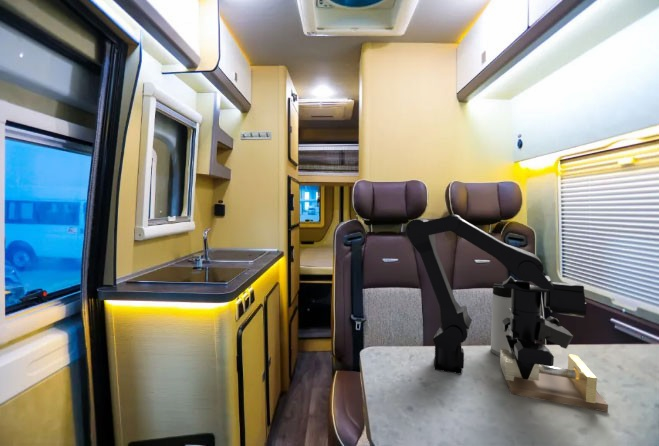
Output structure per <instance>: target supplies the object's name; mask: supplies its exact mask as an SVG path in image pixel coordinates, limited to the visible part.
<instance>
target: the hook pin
mask: <svg viewBox="0 0 659 446" xmlns="http://www.w3.org/2000/svg"><path fill="white" fill-rule="evenodd" d="M499 364H500V365H499V366H500V369H501V371H502V373H503V374H502V375H503V376H504V379H505V381H506V380H511V381H514V377H520V378H522V376H521V374H520V371H519V368H518V365H517V363H516V360H515V357H514V354H512V353H509V350H508V349H502V348H501V352H500V356H499ZM539 373H541V374H547V375H553V376H559V377H566V378H572V379H576V372H575V370H571V369H568V368H564V367H556V366H546V365H539V364H535V365H534V367H533V369H532V371H531V374H530V376H529V378H528V379H532V380H537V381H539Z"/></svg>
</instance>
